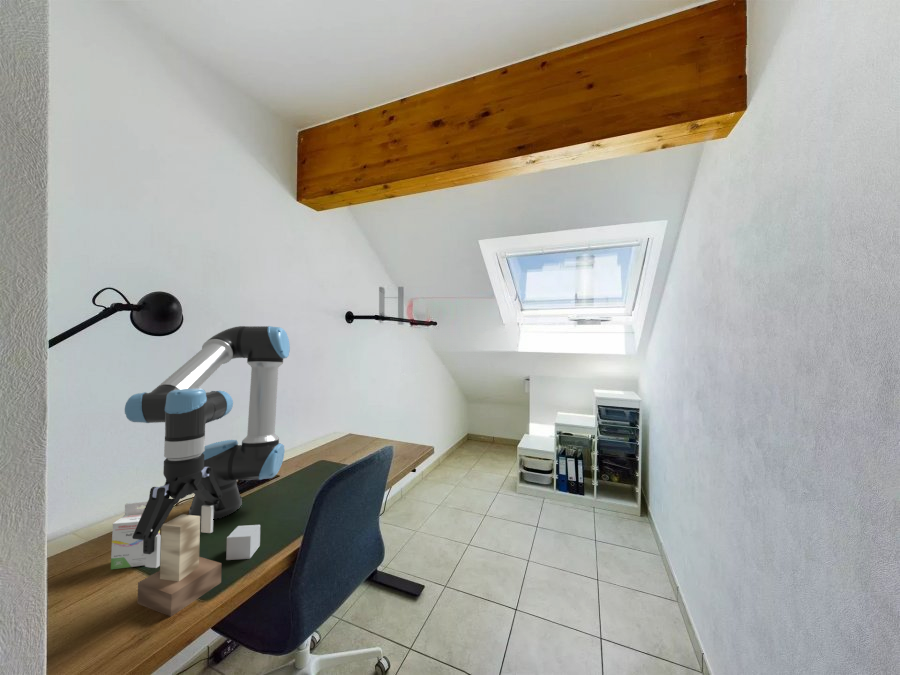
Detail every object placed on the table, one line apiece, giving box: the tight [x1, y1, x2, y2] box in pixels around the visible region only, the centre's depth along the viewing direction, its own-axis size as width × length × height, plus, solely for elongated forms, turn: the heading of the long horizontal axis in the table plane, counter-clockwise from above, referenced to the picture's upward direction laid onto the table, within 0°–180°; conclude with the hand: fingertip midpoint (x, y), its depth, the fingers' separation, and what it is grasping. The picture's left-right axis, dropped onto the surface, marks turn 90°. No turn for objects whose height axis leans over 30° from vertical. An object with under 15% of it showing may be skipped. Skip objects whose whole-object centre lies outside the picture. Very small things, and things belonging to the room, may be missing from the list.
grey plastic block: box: [225, 524, 261, 561], centre depth 94 cm, size 6×6×6 cm
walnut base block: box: [136, 556, 223, 618], centre depth 78 cm, size 11×11×5 cm
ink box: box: [110, 501, 161, 570], centre depth 90 cm, size 9×5×15 cm, turn 105°
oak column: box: [159, 513, 201, 581], centre depth 79 cm, size 5×5×12 cm
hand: (182, 547), depth 79 cm, fingers open, 13 cm apart
